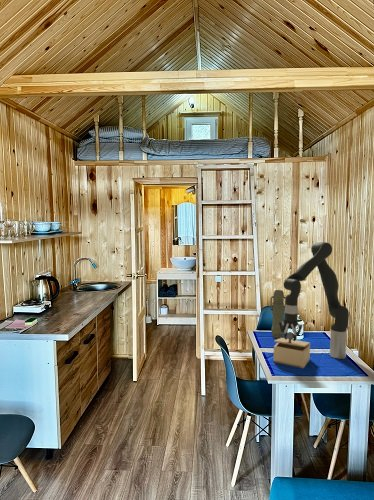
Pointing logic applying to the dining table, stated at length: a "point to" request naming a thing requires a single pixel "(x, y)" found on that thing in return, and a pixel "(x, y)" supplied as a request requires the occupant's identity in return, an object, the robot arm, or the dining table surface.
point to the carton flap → (290, 341)
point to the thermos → (277, 312)
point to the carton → (291, 355)
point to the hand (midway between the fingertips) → (290, 339)
